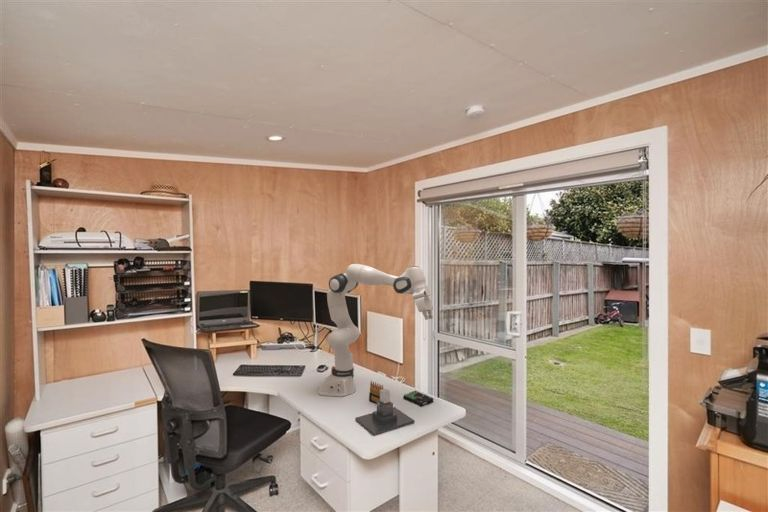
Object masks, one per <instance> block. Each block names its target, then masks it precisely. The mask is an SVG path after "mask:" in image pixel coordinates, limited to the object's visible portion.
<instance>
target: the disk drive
mask: <svg viewBox="0 0 768 512" xmlns="http://www.w3.org/2000/svg"><path fill="white" fill-rule="evenodd" d="M402 399H403V400H405V401H408V402H409V403H412V404H414V405H416V406H418V407H420V408H423V407H425V406H427V405H431V404H432V403H434V397H431V396H429V395H427V394H423V393H422V392H419V391H417V390H414V391H410V392H408V393H406V394H403V397H402Z"/></svg>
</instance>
